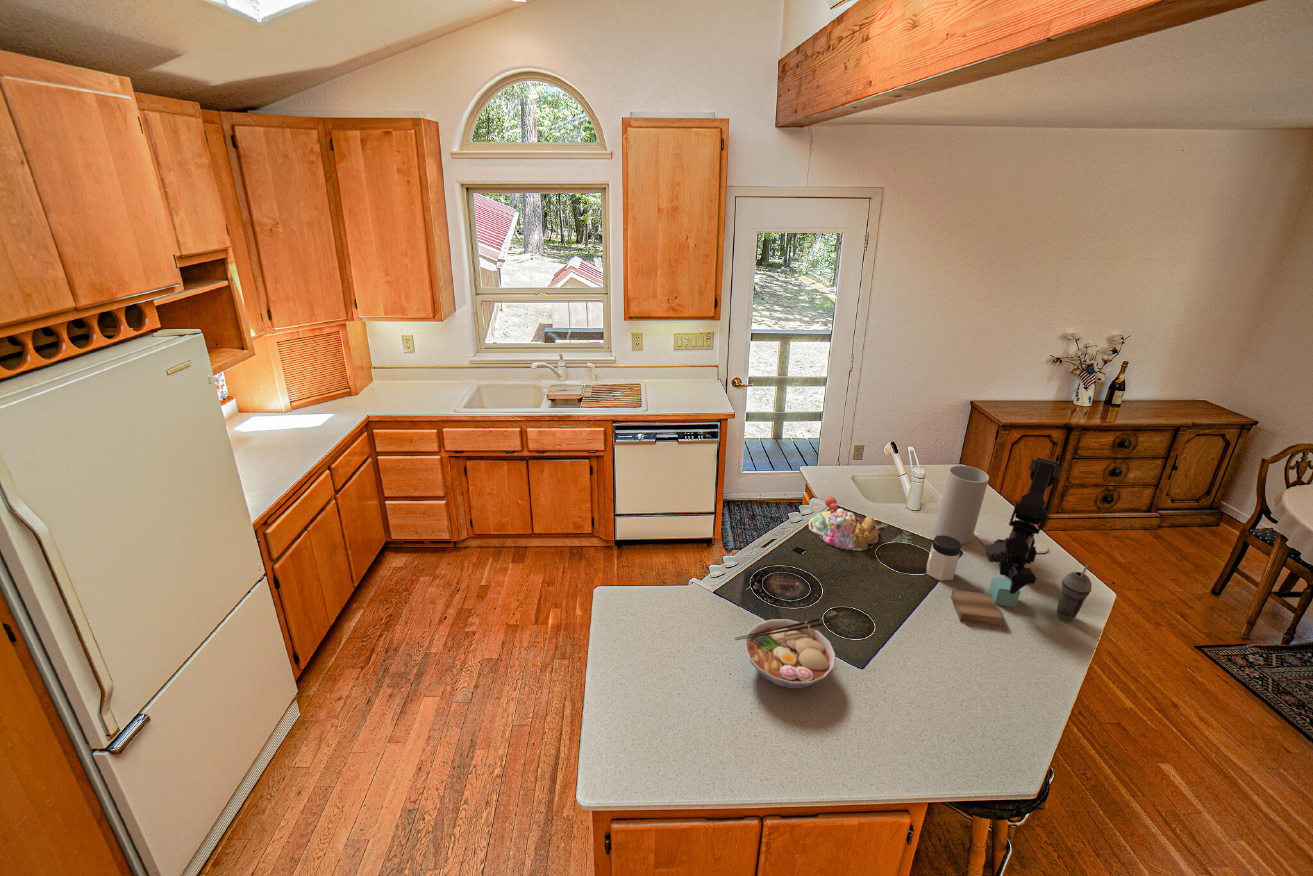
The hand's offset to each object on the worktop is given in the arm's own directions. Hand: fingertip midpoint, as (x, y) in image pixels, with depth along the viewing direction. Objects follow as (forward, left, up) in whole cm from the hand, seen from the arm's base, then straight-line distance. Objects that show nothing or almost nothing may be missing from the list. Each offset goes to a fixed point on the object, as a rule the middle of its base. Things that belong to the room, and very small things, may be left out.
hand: (1006, 583), depth 191 cm
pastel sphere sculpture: (-29, -45, -6) cm, 54 cm away
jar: (-10, -16, -6) cm, 20 cm away
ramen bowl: (+44, -66, -6) cm, 79 cm away
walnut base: (+8, -10, -6) cm, 14 cm away
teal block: (0, 0, -6) cm, 6 cm away
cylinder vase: (-35, -6, -6) cm, 36 cm away
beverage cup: (+5, +16, -6) cm, 18 cm away
